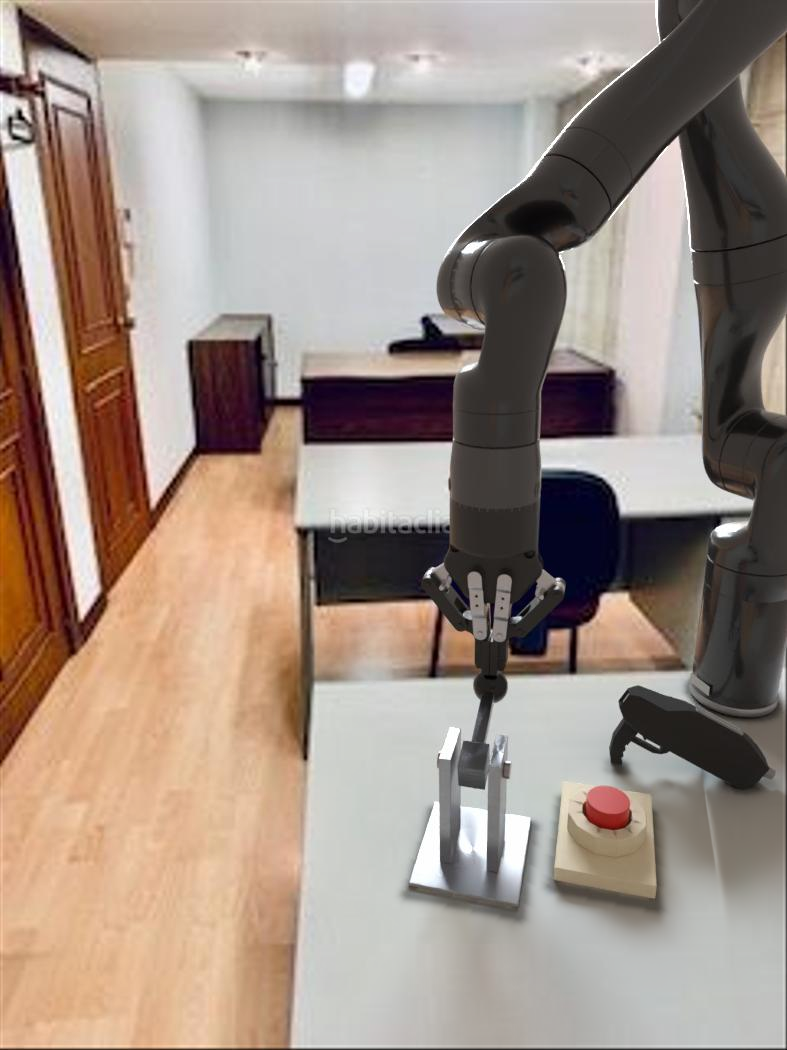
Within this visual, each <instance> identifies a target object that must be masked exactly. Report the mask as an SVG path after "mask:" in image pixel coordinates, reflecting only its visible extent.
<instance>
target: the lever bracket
mask: <svg viewBox="0 0 787 1050" xmlns="http://www.w3.org/2000/svg"><path fill="white" fill-rule="evenodd" d="M461 749H462V728H458V727H453V726H452V727H451V726H450V727H449V728H448V731H447V734H446V737H445V739H444V743H443V746H442V749H441V750H439V751H438V753H437V756H436V757H437V758H436V768H437V769H438V801H434V803H433V807H432V810H431V813H430V816H429V819H428V822H427V825H426V828H425V831H424V834H423V837H422V840H421V844H420V847H419V849H418V853H417V856H416V859H415V862H414V865H413V868H412V872H411V874H410V878H409V881H408V886H409V887H412V888H418V889H424V890H428V891H434V892H438V893H443V894H448V895H454V896H459V897H462V898H469V899H474V900H477V901H478V900H479V901H483V902H489V903H493V904H499V905H503V906H507V907H508V906H509V907H514V908H519V904H520V899H521V890H522V883H523V878H524V871H525V864H526V858H527V851H528V844H529V838H530V832H531V831H530V830H531V825H532V817H530V816H523V815H518V814H512V813H507V791H508V790H507V789H508V787H507V784H508V780H510V779H511V775H512V761H510V760H508V759H509V758H508V757H509V755H508V753H509V752H508V751H509V735H507V734H501V733H496V734H495V738H494V741H493V745H492V750H491V753H490V762H489V766H488V776H487V809H483V808H477V807H470V806H464V805H462V804H461V803H462V797H461V795H462V791H461V790H462V786H459V785H458V771H457V766H458V762H459V757H460V753H461Z"/></svg>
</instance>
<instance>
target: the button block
mask: <svg viewBox="0 0 787 1050" xmlns="http://www.w3.org/2000/svg"><path fill="white" fill-rule="evenodd" d="M597 786H598V785H593V784H587V783H579V782H573V781H565V780H563V781H562V787H561V798H560V808H559V817H558V827H557V836H556V837H557V838H556V847H555V855H554V856H555V858H554V864H553V865H554V867H553V880H554V881H558V882H564V883H568V884H569V883H570V884H574V885H579V886H584V887H585V886H586V887H590V888H595V889H600V890H605V891H606V890H607V891H612V892H617V893H622V894H627V895H634V896H637V897H643V898H650V899H654V900H655V899H656V895H657V887H658V885H657V884H658V883H657V866H656V851H655V835H654V834H655V833H654V816H653V815H654V814H653V800H652V799H653V798H652V794H650V793H645V792H637V791H632V790H631V791H629V790H624V789H620V790H621V791H622V792H624V793H625V794H626V795H627V796H628V798H629V800H630V810H629V820H628V823H627V825H626V826H625V827H623V828H622V829H618V830H609V829H603V828H599V827H597V826H595V825H594V824H592V823H591V822H590V821H589V820H588V819H587V817H586V799H587V794H588V792H589V791H590V790H591V789H592V788H594V787H597Z"/></svg>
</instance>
